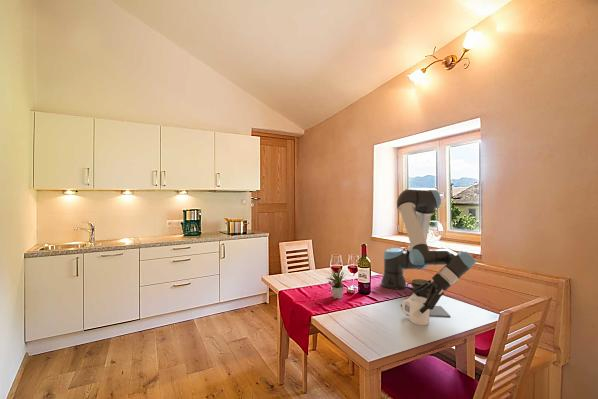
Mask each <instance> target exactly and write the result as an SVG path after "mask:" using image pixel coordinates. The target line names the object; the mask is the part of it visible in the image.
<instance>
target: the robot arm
mask: <svg viewBox="0 0 598 399" xmlns="http://www.w3.org/2000/svg"><path fill="white" fill-rule="evenodd" d="M397 197H398V198H397V200H396V209H397V211H398V213H400V216H401V218H402V222H403V224H404V227H405V231H406V233H407V236H408V241H409V243H410V245H408V246H407V247H406V250H404V249H403V248H400V247H391V248H387V249H386V250H384V253H383V275H382V278H381V280H380V281H381V283H380V284H381V286H382V287H384V288H385V289H386V288H387V289H391V290H392V289H393V290H404V289H406V288H407V281H406V279H405V276H404V270H417V271H418V270H420V271H421V270H424V269H425V270H426V269H427V268H428V267H429V266H443V267H442V268H441V269H440V270H438V272H437V273H436V274H434V275H433V276H432V277H431V279H432V280H433V281H432V280H431V279H429V280H427V282H426V283H424V284H423V285H421V286H419V287H418V288H416V289H414V291H415V292H414V293H413V292H412V294H411V295H410V296H409V297H408V298H407V299H408V300H410V297H414V296H417V297H420V295H423V294H426V293H429V295H428V298H427V300H426V302H425V303H423V304H422V305H421V306H420V307H419V308H418V309H417V310H416V311H414V312H413V313H412V314H413V315H414V316H415V317H416V318H417V319H418V318H419V317H420V316H421V315H422V314H423V313H424V312H425V311H426V310H427V309H431V310H432V309H433V308H434V307H435V306H437V304H438V302H439V301H440V299H441V297H442V296H443V295H444V294H445V292H444V291H447V290H448V289H449V288H450V287H451V285H454V283H456V282H457V281H458V280H459V279H460V278H461V277H462V276H464V275H465V274H466V273H467V272H468V271H469V270H470V269H472V267H473V266H474V265H475V264H476V263H477V262H476V259H475V258H474V257H473V256H472V255H471V254H470V253H469V252H467V251H465V250H461V251H459V252H456V251H455V250H453V249H451V248H449V247H446V246H443V247H440V248H436V249H431V248H430V249H429V246H428V244H427V243H428V242H427V240H428V239H427V238H428V233H429V228H430V223H431V218H432V215H433V214H434V213H435V211H436V209H438V208H440V207H441V205H442V204H441V203H442V199H441V194H440V192H439V191H438V189H437V188H432V187H431V188H430V187H417V188H416V187H415V188H413V187H410V188H406V189H404V190H403V191H402V192H401V193H399V195H398V196H397ZM405 305H408V306H410V303H409V302H405Z"/></svg>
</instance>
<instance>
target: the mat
mask: <svg viewBox="0 0 598 399" xmlns="http://www.w3.org/2000/svg"><path fill="white" fill-rule="evenodd" d="M402 304H403V303H402ZM402 304H400V306H401V308H402ZM405 310H406V311H407V312H409V313H410V306H408V305H407V304H405ZM405 315H406V316H408V315H407V314H405ZM429 317H437V318H438V317H440V318H441V317H443V318H451V314H449V313H448V312H447V311H446V309H444V308H443V306H441V305H435V307H434V308H433V309H432V310H431V309H429Z"/></svg>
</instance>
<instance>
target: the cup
mask: <svg viewBox="0 0 598 399" xmlns="http://www.w3.org/2000/svg"><path fill="white" fill-rule="evenodd" d="M409 297H410V296H409ZM426 300H427V299H426V298H424V297H417V296H414V297H410V300H408V298H407V299H406V298H405V299H404V300H403V301H402V307H401V308H402V311H403V313H404V314H405V315H406V314H407V315H406V316H409V321H410V322H411V323H413V324H415V325H418V326H427V325H429V323H430V316H429V309H427V310H426V311H425V312H424V313H423V314H422V315H421V316H420V317H419V318H418V319H417V318H416V317H415V316H414V315H413V314H412V313H413V312H414V311H416V310H417V309H418V308H419V307H420V306H421V305H422V304H423V303H425V302H426ZM405 302H409V303H410V313H409V312H407V311H406V310H405V305H406V303H405Z"/></svg>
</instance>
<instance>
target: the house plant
mask: <svg viewBox="0 0 598 399" xmlns="http://www.w3.org/2000/svg"><path fill="white" fill-rule="evenodd" d="M328 270H329V271H330V272H331V273H329V272H328V275H329V276H328V277H326V278H325V279H326V280H328V281H327V283H328V284H332V285H331V288H330V289H331V293H332V297H334V298H333V299H336V298H338V299H342V298H343V294H344V289H345V288H344V287H345V286H344V284H343V282H344V280H343V278H344V275H345V274H344V273H345V271H344V270H342V268H341V267H340V268H339V269H338V270H337V273H336V272H335V271H334V270H332V269H330V268H328ZM324 273H326V274H327V272H324ZM345 281H348V279H345Z"/></svg>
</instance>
